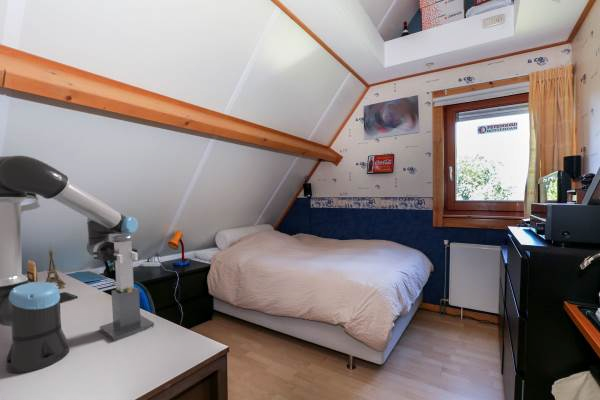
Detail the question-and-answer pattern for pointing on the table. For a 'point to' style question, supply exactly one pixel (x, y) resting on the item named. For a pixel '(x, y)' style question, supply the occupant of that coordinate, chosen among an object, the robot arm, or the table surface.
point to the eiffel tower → (56, 278)
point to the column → (124, 263)
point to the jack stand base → (125, 316)
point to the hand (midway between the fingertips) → (129, 258)
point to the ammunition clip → (31, 271)
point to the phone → (66, 297)
